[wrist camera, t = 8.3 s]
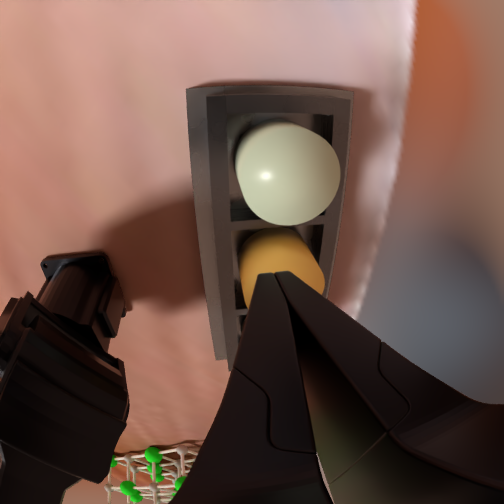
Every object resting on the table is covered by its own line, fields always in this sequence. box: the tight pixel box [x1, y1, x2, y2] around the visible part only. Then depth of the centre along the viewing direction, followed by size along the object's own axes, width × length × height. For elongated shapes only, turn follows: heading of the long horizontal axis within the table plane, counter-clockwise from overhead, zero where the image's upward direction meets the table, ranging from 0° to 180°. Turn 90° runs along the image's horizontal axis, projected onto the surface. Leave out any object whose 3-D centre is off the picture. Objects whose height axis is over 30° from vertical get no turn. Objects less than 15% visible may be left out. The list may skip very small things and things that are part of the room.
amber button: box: [237, 227, 325, 309], centre depth 19 cm, size 5×5×4 cm
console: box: [186, 85, 354, 371], centre depth 21 cm, size 10×23×3 cm, turn 1°
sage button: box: [234, 119, 340, 225], centre depth 15 cm, size 5×5×4 cm
